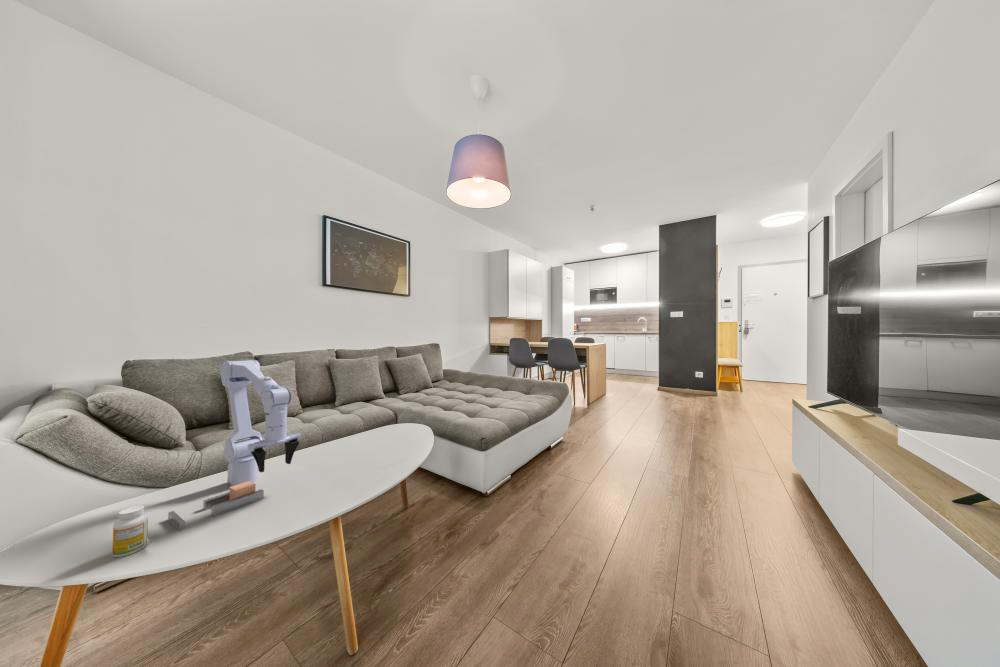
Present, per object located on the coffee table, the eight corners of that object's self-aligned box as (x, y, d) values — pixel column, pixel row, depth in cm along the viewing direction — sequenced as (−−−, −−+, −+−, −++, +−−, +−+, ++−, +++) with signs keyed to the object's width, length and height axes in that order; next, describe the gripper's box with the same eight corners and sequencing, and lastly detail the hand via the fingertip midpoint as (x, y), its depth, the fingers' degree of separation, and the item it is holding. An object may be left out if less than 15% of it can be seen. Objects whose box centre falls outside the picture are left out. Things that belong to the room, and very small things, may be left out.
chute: (167, 523, 85) (168, 510, 85) (261, 490, 104) (261, 480, 104) (179, 534, 80) (179, 521, 80) (275, 498, 99) (275, 487, 99)
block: (229, 502, 94) (229, 487, 95) (249, 495, 99) (249, 480, 99) (235, 505, 92) (235, 490, 92) (255, 498, 96) (255, 484, 97)
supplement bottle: (123, 546, 76) (125, 505, 76) (152, 540, 78) (154, 501, 78) (105, 560, 71) (106, 517, 71) (136, 554, 73) (138, 512, 73)
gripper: (255, 432, 92) (253, 478, 92) (306, 422, 105) (305, 462, 104) (245, 429, 96) (243, 473, 96) (295, 419, 108) (294, 458, 108)
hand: (275, 467), depth 100 cm, fingers open, 7 cm apart
